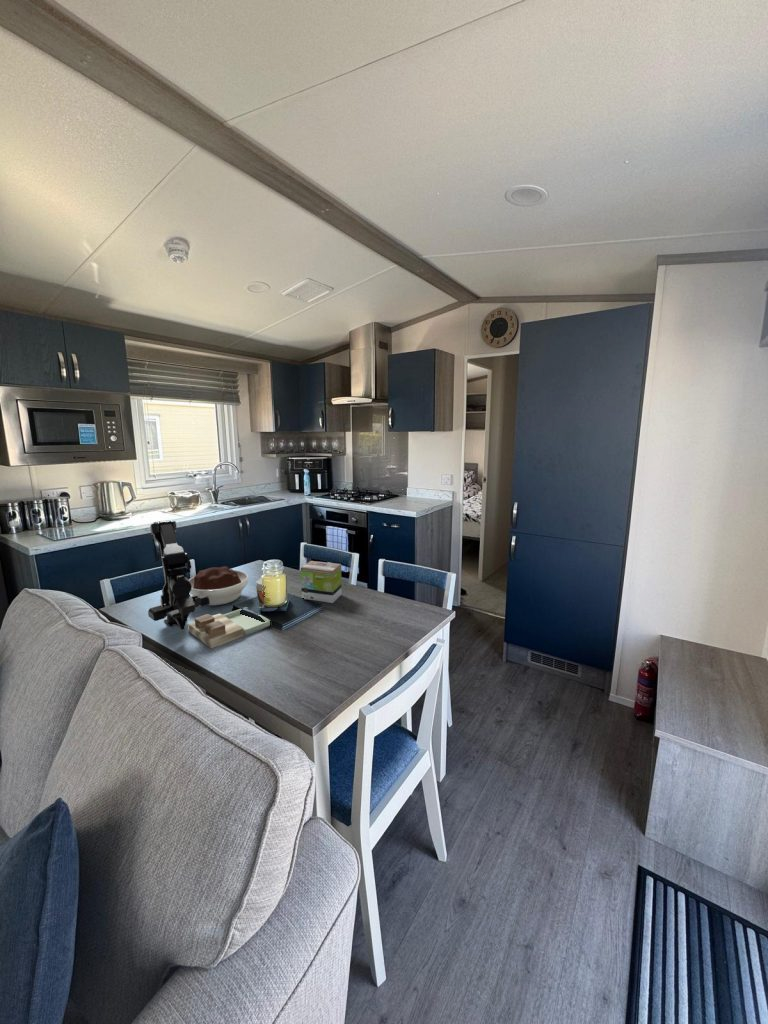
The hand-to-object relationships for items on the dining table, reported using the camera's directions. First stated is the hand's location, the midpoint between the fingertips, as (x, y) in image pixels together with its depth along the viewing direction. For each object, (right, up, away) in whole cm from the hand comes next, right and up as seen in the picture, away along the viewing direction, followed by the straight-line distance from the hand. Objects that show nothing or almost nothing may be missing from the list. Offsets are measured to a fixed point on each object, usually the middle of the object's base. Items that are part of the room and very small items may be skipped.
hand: (182, 629), depth 149 cm
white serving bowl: (0, +3, +35) cm, 35 cm away
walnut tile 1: (+5, +1, +6) cm, 8 cm away
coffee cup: (+23, +1, +26) cm, 35 cm away
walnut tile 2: (+11, 0, 0) cm, 11 cm away
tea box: (+43, +3, +38) cm, 57 cm away
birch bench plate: (+10, -3, +5) cm, 12 cm away
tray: (+18, -1, +13) cm, 22 cm away
